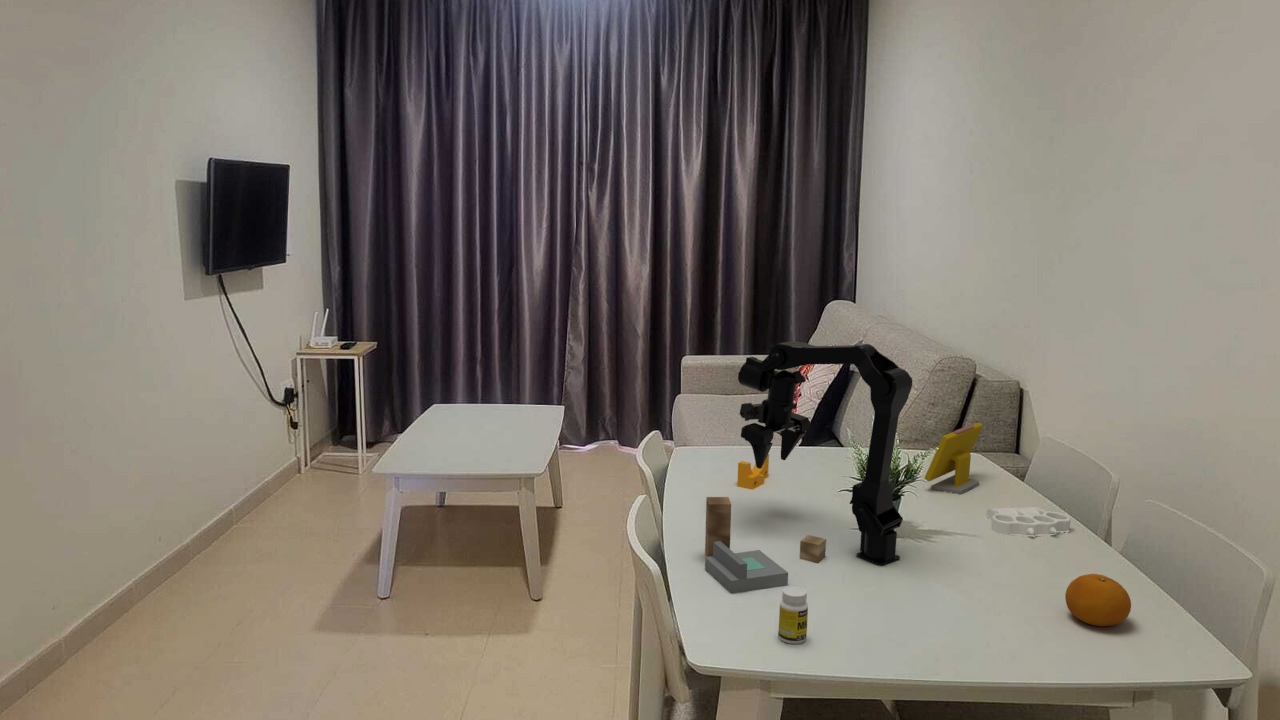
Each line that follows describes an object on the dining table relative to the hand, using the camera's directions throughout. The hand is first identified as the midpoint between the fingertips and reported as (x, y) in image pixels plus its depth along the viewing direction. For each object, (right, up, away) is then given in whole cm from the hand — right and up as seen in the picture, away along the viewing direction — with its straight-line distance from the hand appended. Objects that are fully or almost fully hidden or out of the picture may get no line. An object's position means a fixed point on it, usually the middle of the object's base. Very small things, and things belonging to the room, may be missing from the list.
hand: (771, 463), depth 208 cm
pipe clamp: (+1, -9, +33) cm, 34 cm away
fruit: (+52, -23, -43) cm, 71 cm away
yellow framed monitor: (+52, -10, +32) cm, 62 cm away
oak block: (+6, -18, -16) cm, 25 cm away
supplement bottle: (-4, -24, -51) cm, 56 cm away
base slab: (-9, -19, -26) cm, 34 cm away
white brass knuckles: (+58, -15, +3) cm, 60 cm away
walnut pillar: (-14, -17, -18) cm, 28 cm away
